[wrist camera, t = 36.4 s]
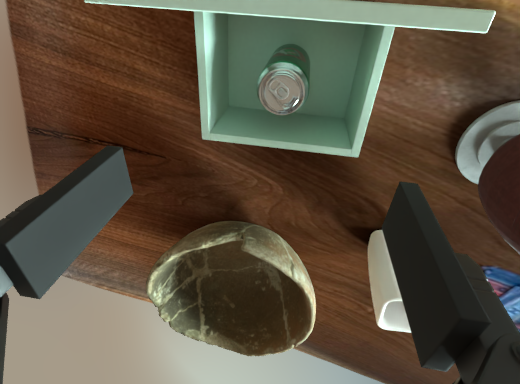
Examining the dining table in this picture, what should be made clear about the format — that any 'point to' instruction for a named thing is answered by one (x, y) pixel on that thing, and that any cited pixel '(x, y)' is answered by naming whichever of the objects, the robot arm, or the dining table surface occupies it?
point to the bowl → (235, 289)
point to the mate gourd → (495, 166)
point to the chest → (320, 90)
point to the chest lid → (335, 12)
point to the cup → (385, 286)
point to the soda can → (285, 80)
